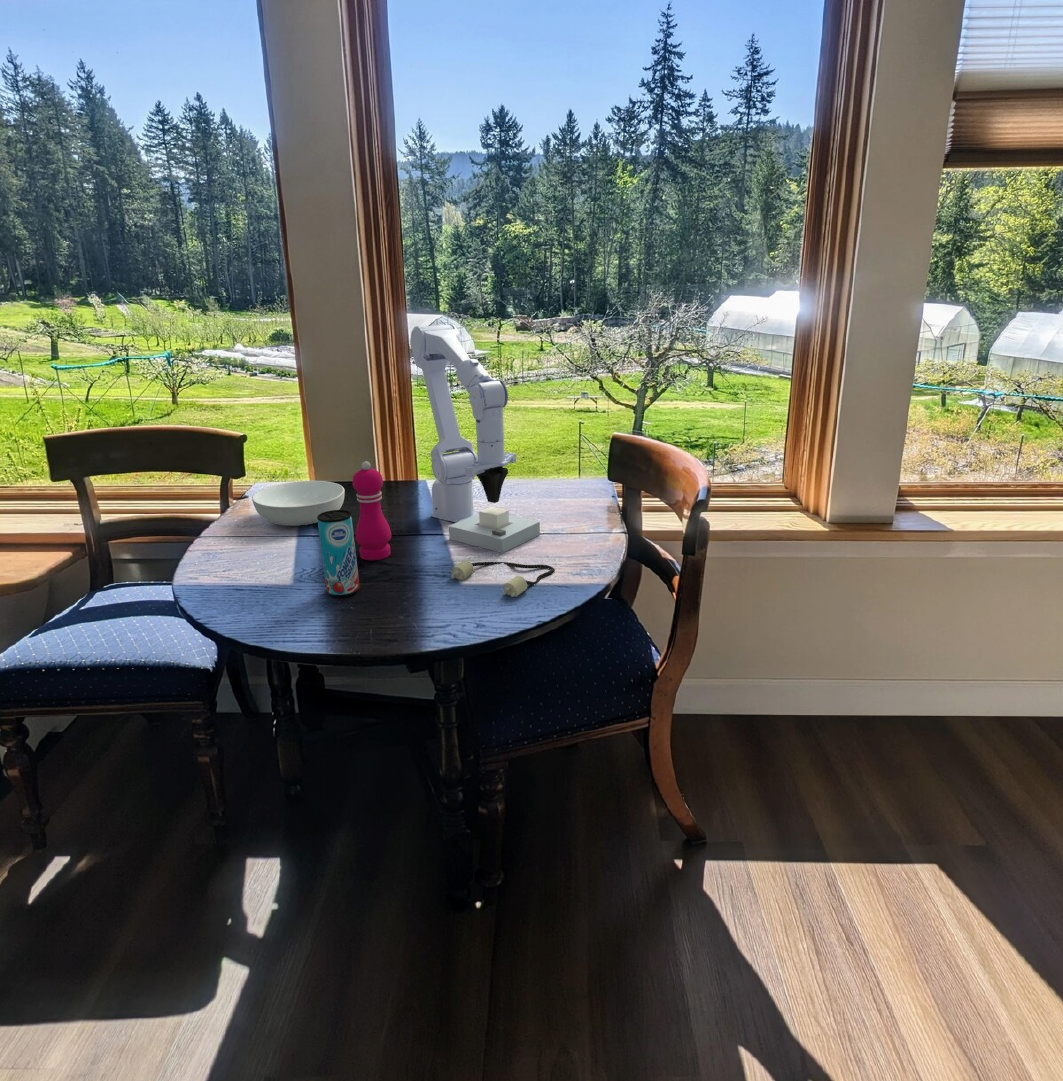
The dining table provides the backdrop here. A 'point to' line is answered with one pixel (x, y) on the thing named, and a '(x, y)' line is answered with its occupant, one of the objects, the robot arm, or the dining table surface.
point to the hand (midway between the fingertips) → (493, 501)
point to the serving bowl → (298, 501)
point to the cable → (512, 586)
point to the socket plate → (494, 533)
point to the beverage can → (338, 552)
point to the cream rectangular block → (494, 518)
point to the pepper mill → (371, 515)
